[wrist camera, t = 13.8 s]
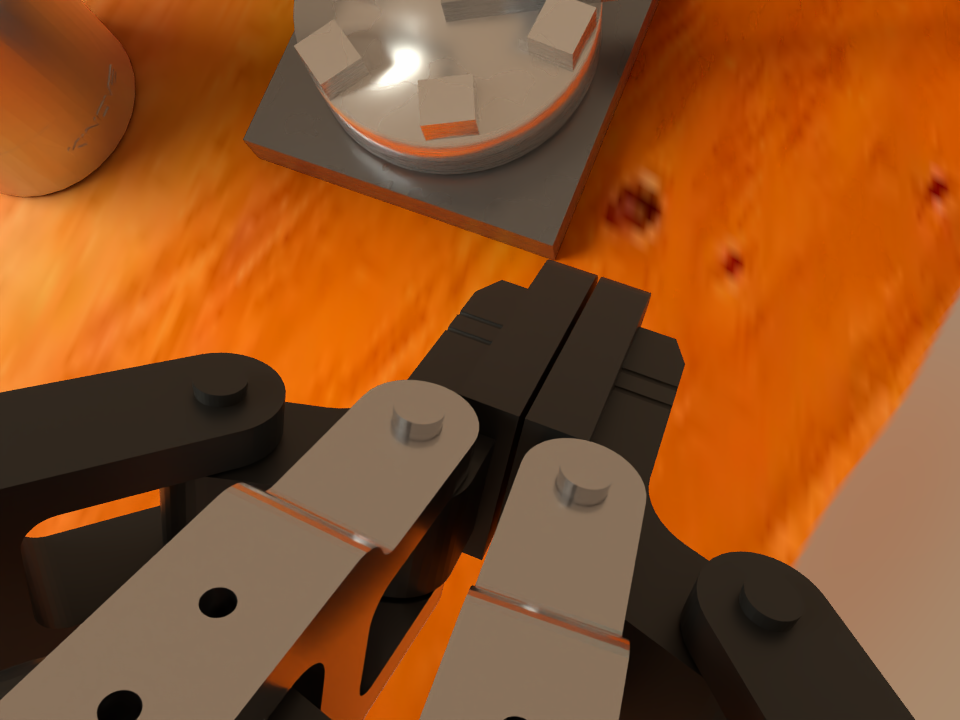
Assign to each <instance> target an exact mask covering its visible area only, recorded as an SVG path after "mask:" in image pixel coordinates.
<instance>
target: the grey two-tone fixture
mask: <svg viewBox="0 0 960 720" xmlns="http://www.w3.org/2000/svg"><path fill="white" fill-rule="evenodd" d="M607 1H615V0H294V15H293V16H294V28H295V36H296V40H297V44H296V45H294V47H295V49H296V50H297V52H298V54H299V55H300V57H301V59H302V60H303V62H304V65H305V67H306V69H307V71H308V72H309V74H310V76H311V78H312V79H313V81H314V83H315V84H316V86H317V88H318V89H319V91H320V93H321V94H322V96H323V98H324V99H325V101H326V103H327V104H328V106H329V108H330V109H331V111H332V113H333V114H334V116H335V118H336V119H337V121H338V122H339V123H340V125H341V126H342V127H343V128H344V130H345V131H346V132H347V133H348V134H349V135H350V136H351V137H352V138H353V139H354V140H355V141H356V142H357V143H358V144H360V145H361V146H362V147H364V148H365V149H366V150H368V151H369V152H371V153H372V154H374V155H375V156H377V157H379V158H381V159H383V160H385V161H387V162H389V163H391V164H394V165H397V166H400V167H402V168H405V169H408V170H413V171H418V172H423V173H430V174H442V175H450V174H466V173H472V172H478V171H484V170H487V169H490V168H494V167H497V166H501V165H503V164H506V163H508V162H510V161H513V160H515V159H517V158H519V157H521V156H523V155H525V154H527V153H528V152H530V151H532V150H533V149H535V148H537V147H538V146H539V145H541V144H542V143H543V142H545V141H546V140H547V139H549V138H550V137H551V136H553V135H554V134H555V133H556V132H557V131H558V130H559V129H560V128H561V127H562V126H563V125H564V124H565V123H566V122H567V120H568V119H569V118H570V117H571V115H572V114H573V113H574V112H575V110H576V109H577V108H578V106H579V105H580V103H581V101H582V100H583V98H584V96H585V95H586V93H587V91H588V89H589V87H590V84H591V82H592V79H593V77H594V75H595V71H596V68H597V64H598V60H599V56H600V48H601V40H602V2H607Z"/></svg>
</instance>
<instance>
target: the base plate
mask: <svg viewBox="0 0 960 720" xmlns="http://www.w3.org/2000/svg"><path fill="white" fill-rule="evenodd" d="M658 3H659V0H615V1H607V2H602V40H601V48H600V56H599V60H598V64H597V68H596V71H595V75H594V77H593V79H592V82H591V84H590V87H589V89H588V91H587V93H586V95H585V96H584V98H583V100H582V101H581V103H580V105H579V106H578V108H577V109H576V110H575V112H574V113H573V114H572V115H571V117H570V118H569V119H568V120H567V122H566V123H565V124H564V125H563V126H562V127H561V128H560V129H559V130H558V131H557V132H556V133H555V134H554V135H553V136H551V137H550V138H549V139H547V140H546V141H545V142H543V143H542V144H541V145H539V146H538V147H537V148H535V149H533V150H532V151H530V152H528V153H527V154H525V155H523V156H521V157H519V158H517V159H515V160H513V161H510V162H508V163H506V164H503V165H501V166H497V167H494V168H490V169H487V170H484V171H478V172H472V173H466V174H450V175H442V174H430V173H423V172H418V171H413V170H408V169H405V168H402V167H400V166H397V165H394V164H391V163H389V162H387V161H385V160H383V159H381V158H379V157H377V156H375V155H374V154H372V153H371V152H369V151H368V150H366V149H365V148H364V147H362V146H361V145H360V144H358V143H357V142H356V141H355V140H354V139H353V138H352V137H351V136H350V135H349V134H348V133H347V132H346V131H345V130H344V128H343V127H342V126H341V125H340V123H339V122H338V121H337V119H336V118H335V116H334V114H333V113H332V111H331V109H330V108H329V106H328V104H327V103H326V101H325V99H324V98H323V96H322V94H321V93H320V91H319V89H318V88H317V86H316V84H315V83H314V81H313V79H312V78H311V76H310V74H309V72H308V71H307V69H306V67H305V65H304V62H303V60H302V59H301V57H300V55H299V54H298V52H297V50H296V49H295V47H294V45H296V44H297V40H296V36H295V30H294V33H293V35H292V37H291V39H290V41H289V43H288V45H287V47H286V50H285V52H284V54H283V56H282V58H281V60H280V62H279V64H278V67H277V69H276V71H275V73H274V75H273V77H272V79H271V81H270V84H269V86H268V88H267V90H266V92H265V94H264V96H263V98H262V101H261V103H260V105H259V107H258V109H257V111H256V113H255V115H254V118H253V120H252V122H251V124H250V126H249V128H248V130H247V132H246V135H245V137H244V139H243V140H244V141H245V142H246V144H247V145H248V146H249V147H250V148H251V149H252V151H253V152H254V153H255V154H256V155H257V156H258V158H261V159H263V160H266V161H269V162H272V163H275V164H278V165H281V166H284V167H286V168H289V169H292V170H295V171H298V172H301V173H304V174H307V175H310V176H312V177H315V178H318V179H321V180H324V181H327V182H330V183H333V184H335V185H338V186H341V187H344V188H347V189H350V190H353V191H356V192H359V193H361V194H364V195H367V196H370V197H373V198H376V199H379V200H382V201H384V202H387V203H390V204H393V205H396V206H399V207H402V208H405V209H408V210H410V211H413V212H416V213H419V214H422V215H425V216H428V217H431V218H433V219H436V220H439V221H442V222H445V223H448V224H451V225H454V226H457V227H459V228H462V229H465V230H468V231H471V232H474V233H477V234H480V235H482V236H485V237H488V238H491V239H494V240H497V241H500V242H503V243H506V244H508V245H511V246H514V247H517V248H520V249H523V250H526V251H529V252H531V253H534V254H537V255H540V256H543V257H546V258H549V259H552V260H555V258H556V256H557V253H558V251H559V248H560V246H561V243H562V241H563V238H564V236H565V233H566V231H567V228H568V226H569V223H570V221H571V218H572V216H573V213H574V211H575V208H576V206H577V204H578V201H579V199H580V196H581V194H582V191H583V189H584V186H585V184H586V181H587V179H588V176H589V174H590V171H591V169H592V166H593V164H594V161H595V159H596V156H597V154H598V151H599V149H600V146H601V144H602V142H603V139H604V137H605V134H606V132H607V129H608V127H609V124H610V122H611V119H612V117H613V114H614V112H615V109H616V107H617V104H618V102H619V99H620V97H621V94H622V92H623V89H624V87H625V84H626V82H627V79H628V77H629V75H630V72H631V70H632V67H633V65H634V62H635V60H636V57H637V55H638V52H639V50H640V47H641V45H642V42H643V40H644V37H645V35H646V32H647V30H648V27H649V25H650V22H651V20H652V17H653V15H654V13H655V10H656V8H657V5H658Z"/></svg>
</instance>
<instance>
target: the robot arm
mask: <svg viewBox="0 0 960 720" xmlns="http://www.w3.org/2000/svg"><path fill="white" fill-rule="evenodd" d="M134 99H135V80H134V73H133V69H132V66H131V62H130V59H129V57H128V55H127V53H126V52H125V50H124V48H123V46H122V45H121V43H120V42H119V41H118V40H117V38H116V37H115V36H114V35H113V34H112V33H111V32H110V31H109V30H108V29H107V28H106V27H105V26H104V24H103V23H102V22H101V21H100V20H99V19H98V18H97V17H96V16H95V15H94V14H93V13H92V12H91V11H90V9H89V8H88V7H87V6H86V5H85V4H84V3H83V2H82V1H81V0H0V193H2V194H7V195H14V196H21V197H27V196H40V195H46V194H49V193H53V192H56V191H60V190H63V189H65V188H67V187H69V186H71V185H73V184H75V183H77V182H79V181H81V180H83V179H84V178H85V177H87V176H88V175H89V174H90V173H92V172H93V171H94V170H96V169H97V168H98V167H99V166H100V165H101V164H102V163H103V162H104V161H105V160H106V159H107V158H108V157H109V155H110V154H111V153H112V152H113V151H114V150H115V148H116V146H117V145H118V143H119V141H120V140H121V138H122V137H123V135H124V133H125V131H126V128H127V126H128V123H129V121H130V118H131V115H132V111H133V105H134ZM597 280H598V275H595V274H592V273H589V272H586V271H583V270H580V269H577V268H574V267H571V266H568V265H565V264H562V263H559V262H556V261H553V260H550V259H549V260H547V261H546V263H545V264H544V266H543V267H542V269H541V270H540V272H539V273H538V275H537V276H536V278H535V279H534V281H533V282H532V284H531V285H530V287H529V288H528V289H527V288H524V287H521V286H518V285H515V284H512V283H509V282H506V281H504V280H501V281H498V282H496V283H494V284H492V285H490V286H487V287H485V288H483V289H481V290H478V291H476V292H475V293H474V294H473V296H472V297H471V298H470V299H469V301H468V302H467V303H466V305H465V306H464V307H463V308H462V310H461V312H460V314H459V315H457V316H456V317H455V319H454V320H453V321H452V323H451V324H450V325H449V327H448V330H445V332H444V333H443V334H442V336H441V337H440V338H439V339H438V341H437V342H436V343H435V345H434V346H433V347H432V348H431V350H430V351H429V352H428V354H427V355H426V356H425V358H424V359H423V360H422V361H421V363H420V364H419V365H418V367H417V368H416V369H415V370H414V372H413V373H412V374H411V376H410V377H409V378H408V379H407V380H399V381H392V382H388V383H384V384H382V385H379V386H377V387H375V388H373V389H371V390H370V391H368V392H367V393H366V394H365V395H363V396H362V397H361V398H360V400H359V401H358V402H357V403H356V404H355V405H354V406H353V407H352V408H341V409H338V408H326V407H319V406H311V405H304V404H297V403H289V402H285V393H286V391H285V386H284V383H283V381H282V379H281V377H280V376H279V375H278V373H277V372H276V371H275V370H273V369H272V368H271V367H270V366H268V365H267V364H265V363H263V362H261V361H259V360H257V359H254V358H251V357H248V356H244V355H239V354H233V353H208V354H201V355H196V356H190V357H185V358H180V359H175V360H169V361H164V362H159V363H154V364H148V365H143V366H138V367H133V368H127V369H122V370H117V371H112V372H106V373H101V374H96V375H91V376H85V377H80V378H75V379H70V380H64V381H59V382H54V383H48V384H43V385H38V386H33V387H27V388H22V389H17V390H12V391H6V392H1V393H0V720H364V718H365V716H366V714H367V713H368V711H369V709H370V708H371V706H372V705H373V703H374V702H375V700H376V698H377V697H378V695H379V694H380V692H381V691H382V689H383V688H384V686H385V684H386V683H387V681H388V680H389V678H390V677H391V675H392V674H393V672H394V670H395V669H396V667H397V666H398V664H399V663H400V661H401V660H402V658H403V656H404V655H405V653H406V652H407V650H408V649H409V647H410V646H411V644H412V642H413V641H414V639H415V638H416V636H417V635H418V633H419V632H420V630H421V628H422V627H423V625H424V624H425V622H426V621H427V619H428V618H429V616H430V614H431V613H432V611H433V610H434V608H435V607H436V605H437V603H438V601H439V599H440V597H441V594H442V590H443V586H444V582H445V581H446V580H447V578H448V577H449V576H450V574H451V572H452V570H453V568H454V566H455V565H456V563H457V561H458V559H459V557H460V555H461V553H462V552H463V553H466V554H468V555H470V556H473V557H475V558H478V559H480V560H482V559H483V557H484V554H485V552H486V550H487V548H488V546H489V544H490V542H491V540H492V542H491V545H490V547H489V550H488V553H487V556H486V558H485V561H484V564H483V566H482V569H481V572H480V574H479V577H478V580H477V582H476V585H475V586H473V585H472V586H471V588H470V589H469V592H468V594H467V596H466V598H465V601H464V603H463V606H462V609H461V611H460V614H459V617H458V619H457V622H456V624H455V627H454V630H453V632H452V635H451V638H450V640H449V643H448V645H447V648H446V651H445V653H444V656H443V659H442V661H441V664H440V667H439V669H438V672H437V674H436V677H435V680H434V682H433V685H432V688H431V690H430V693H429V696H428V698H427V701H426V703H425V706H424V709H423V711H422V714H421V717H420V719H419V720H915V719H914V717H913V716H912V715H911V713H910V712H909V711H908V709H907V708H906V707H905V705H904V704H903V703H902V701H901V700H900V698H899V697H898V696H897V695H896V693H895V692H894V690H893V689H892V687H891V686H890V685H889V683H888V682H887V681H886V680H885V678H884V677H883V675H882V674H881V672H880V671H879V670H878V669H877V667H876V666H875V664H874V663H873V662H872V660H871V659H870V658H869V656H868V655H867V653H866V652H865V651H864V649H863V648H862V647H861V645H860V644H859V643H858V641H857V640H856V639H855V637H854V636H853V634H852V633H851V632H850V630H849V629H848V628H847V626H846V625H845V623H844V622H843V621H842V619H841V618H840V617H839V615H838V614H837V613H836V611H835V610H834V609H833V607H832V606H831V604H830V603H829V602H828V600H827V599H826V598H825V596H824V595H823V594H822V593H821V592H820V590H819V589H818V588H817V587H816V586H815V585H814V584H813V583H812V582H811V581H810V580H809V579H807V578H806V577H805V576H804V575H802V574H801V573H800V572H798V571H797V570H795V569H793V568H792V567H790V566H789V565H787V564H785V563H783V562H781V561H778V560H776V559H774V558H771V557H768V556H765V555H761V554H757V553H752V552H729V553H725V554H721V555H719V556H717V557H715V558H713V559H711V560H710V561H708V560H707V559H705V558H704V557H702V556H701V555H699V554H698V553H697V552H695V551H694V550H692V549H691V548H689V547H688V546H686V545H685V544H684V543H682V542H681V541H680V540H678V539H677V538H676V537H675V536H674V535H673V534H672V533H671V532H670V531H669V530H668V529H667V528H666V527H665V526H664V524H663V523H662V522H661V521H660V519H659V518H658V516H657V514H656V513H655V511H654V509H653V506H652V504H651V501H650V497H649V487H648V486H649V481H650V476H651V473H652V470H653V467H654V463H655V460H656V457H657V454H658V450H659V447H660V444H661V441H662V437H663V434H664V431H665V428H666V424H667V421H668V418H669V414H670V411H671V407H672V405H673V401H674V398H675V395H676V392H677V388H678V385H679V382H680V379H681V375H682V372H683V369H684V365H685V363H684V360H683V357H682V355H681V352H680V349H679V346H678V343H677V341H676V339H674V338H671V337H668V336H665V335H662V334H659V333H656V332H653V331H650V330H647V329H644V328H642V327H641V324H642V321H643V318H644V315H645V312H646V309H647V306H648V303H649V300H650V297H651V293H649V292H646V291H643V290H640V289H637V288H634V287H631V286H628V285H625V284H622V283H619V282H616V281H613V280H610V279H607V278H604V277H601V278H600V280H599V282H598V284H597ZM156 489H160V505H161V506H157V507H153V508H149V509H146V510H142V511H138V512H135V513H131V514H127V515H124V516H120V517H116V518H113V519H109V520H105V521H102V522H98V523H94V524H91V525H87V526H83V527H79V528H76V529H72V530H68V531H65V532H61V533H57V534H54V535H50V536H46V537H40V538H30V537H25V536H26V534H27V533H28V532H29V531H30V530H31V529H32V528H33V527H35V526H36V525H37V524H39V523H40V522H42V521H44V520H46V519H48V518H51V517H54V516H57V515H60V514H64V513H68V512H72V511H76V510H80V509H83V508H87V507H91V506H95V505H99V504H103V503H106V502H110V501H114V500H118V499H122V498H125V497H129V496H133V495H137V494H141V493H145V492H148V491H152V490H156ZM493 536H494V537H493ZM492 538H493V539H492Z"/></svg>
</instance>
